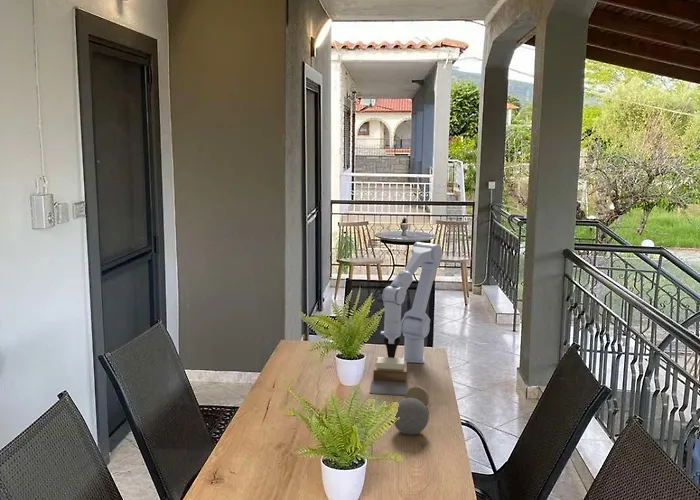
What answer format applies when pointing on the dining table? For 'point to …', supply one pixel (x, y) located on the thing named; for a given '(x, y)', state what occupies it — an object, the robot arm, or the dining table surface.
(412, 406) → the decorative ball
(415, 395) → the tan short cylinder
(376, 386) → the mat
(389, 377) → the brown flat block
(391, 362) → the cream rectangular block
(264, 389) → the dining table surface
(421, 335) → the robot arm
